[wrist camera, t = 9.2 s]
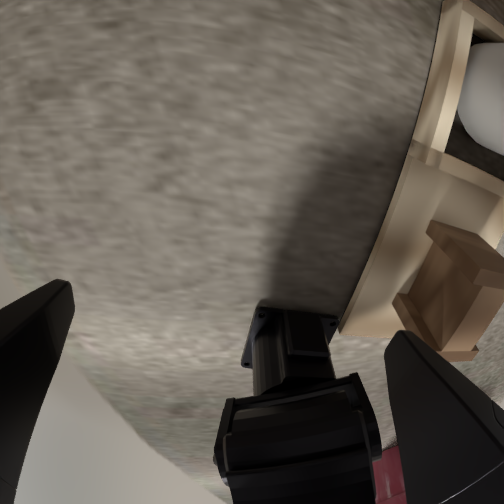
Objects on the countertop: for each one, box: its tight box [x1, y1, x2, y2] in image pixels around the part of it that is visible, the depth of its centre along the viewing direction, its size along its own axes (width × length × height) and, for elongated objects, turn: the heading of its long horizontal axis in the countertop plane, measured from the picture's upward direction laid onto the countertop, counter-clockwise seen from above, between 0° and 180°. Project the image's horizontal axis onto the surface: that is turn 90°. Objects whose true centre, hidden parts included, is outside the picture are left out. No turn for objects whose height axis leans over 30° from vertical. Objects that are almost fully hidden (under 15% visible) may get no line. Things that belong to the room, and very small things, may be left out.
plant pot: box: [372, 446, 407, 504], centre depth 35 cm, size 14×14×13 cm
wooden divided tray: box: [338, 0, 504, 362], centre depth 16 cm, size 25×11×7 cm, turn 168°
